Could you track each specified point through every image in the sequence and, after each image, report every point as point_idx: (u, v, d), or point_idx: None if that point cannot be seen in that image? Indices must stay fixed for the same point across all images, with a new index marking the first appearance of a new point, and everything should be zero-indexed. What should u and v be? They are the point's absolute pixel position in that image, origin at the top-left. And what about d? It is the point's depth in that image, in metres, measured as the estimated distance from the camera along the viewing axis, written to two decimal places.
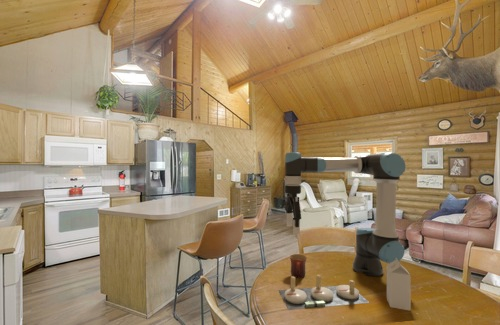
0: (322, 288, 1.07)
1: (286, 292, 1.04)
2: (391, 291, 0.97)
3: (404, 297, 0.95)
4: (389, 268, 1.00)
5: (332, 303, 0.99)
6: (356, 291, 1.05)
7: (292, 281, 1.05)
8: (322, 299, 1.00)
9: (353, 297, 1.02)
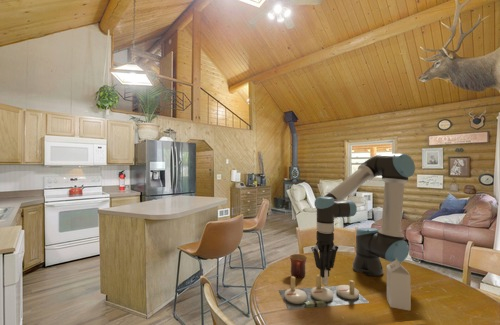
0: (322, 288, 1.07)
1: (286, 292, 1.04)
2: (391, 291, 0.97)
3: (404, 297, 0.95)
4: (389, 268, 1.00)
5: (332, 303, 0.99)
6: (356, 291, 1.05)
7: (292, 281, 1.05)
8: (322, 299, 1.00)
9: (353, 297, 1.02)
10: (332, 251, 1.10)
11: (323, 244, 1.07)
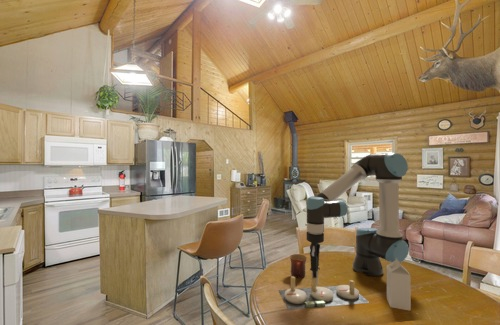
0: None
1: (286, 292, 1.04)
2: (391, 291, 0.97)
3: (404, 297, 0.95)
4: (389, 268, 1.00)
5: (332, 303, 0.99)
6: (356, 291, 1.05)
7: (292, 281, 1.05)
8: (332, 297, 1.01)
9: (353, 297, 1.02)
10: None
11: (317, 245, 1.06)
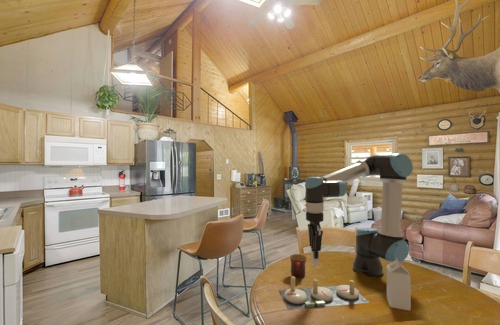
0: None
1: (286, 292, 1.04)
2: (391, 291, 0.97)
3: (404, 297, 0.95)
4: (389, 268, 1.00)
5: (332, 303, 0.99)
6: (356, 291, 1.05)
7: (292, 281, 1.05)
8: None
9: (353, 297, 1.02)
10: None
11: None
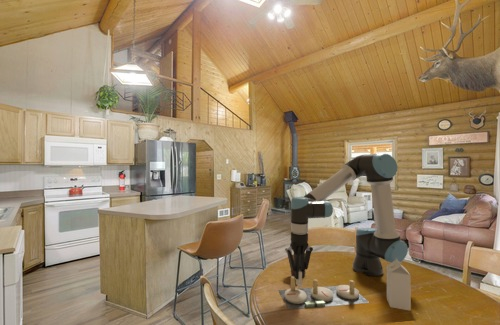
0: None
1: (286, 292, 1.04)
2: (391, 291, 0.97)
3: (404, 297, 0.95)
4: (389, 268, 1.00)
5: (332, 303, 0.99)
6: (356, 291, 1.05)
7: (292, 281, 1.05)
8: None
9: (353, 297, 1.02)
10: (307, 252, 1.08)
11: (297, 245, 1.05)
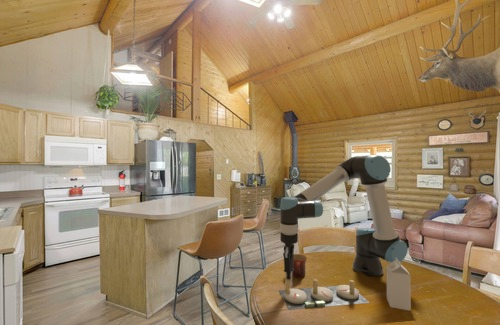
0: None
1: (290, 297, 1.00)
2: (391, 291, 0.97)
3: (404, 297, 0.95)
4: (389, 268, 1.00)
5: (332, 303, 0.99)
6: (356, 291, 1.05)
7: (289, 283, 1.03)
8: None
9: (353, 297, 1.02)
10: None
11: (290, 246, 1.04)
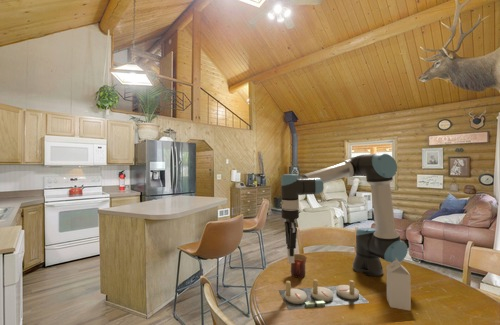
0: None
1: (295, 298, 0.99)
2: (391, 291, 0.97)
3: (404, 297, 0.95)
4: (389, 268, 1.00)
5: (332, 303, 0.99)
6: (356, 291, 1.05)
7: (290, 285, 1.01)
8: None
9: (353, 297, 1.02)
10: None
11: None
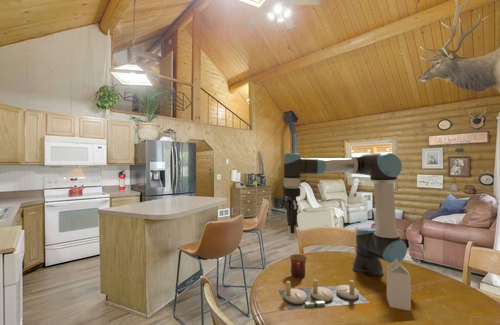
0: None
1: (295, 298, 0.99)
2: (391, 291, 0.97)
3: (404, 297, 0.95)
4: (389, 268, 1.00)
5: (332, 303, 0.99)
6: (356, 291, 1.05)
7: (290, 285, 1.01)
8: None
9: (353, 297, 1.02)
10: None
11: None
